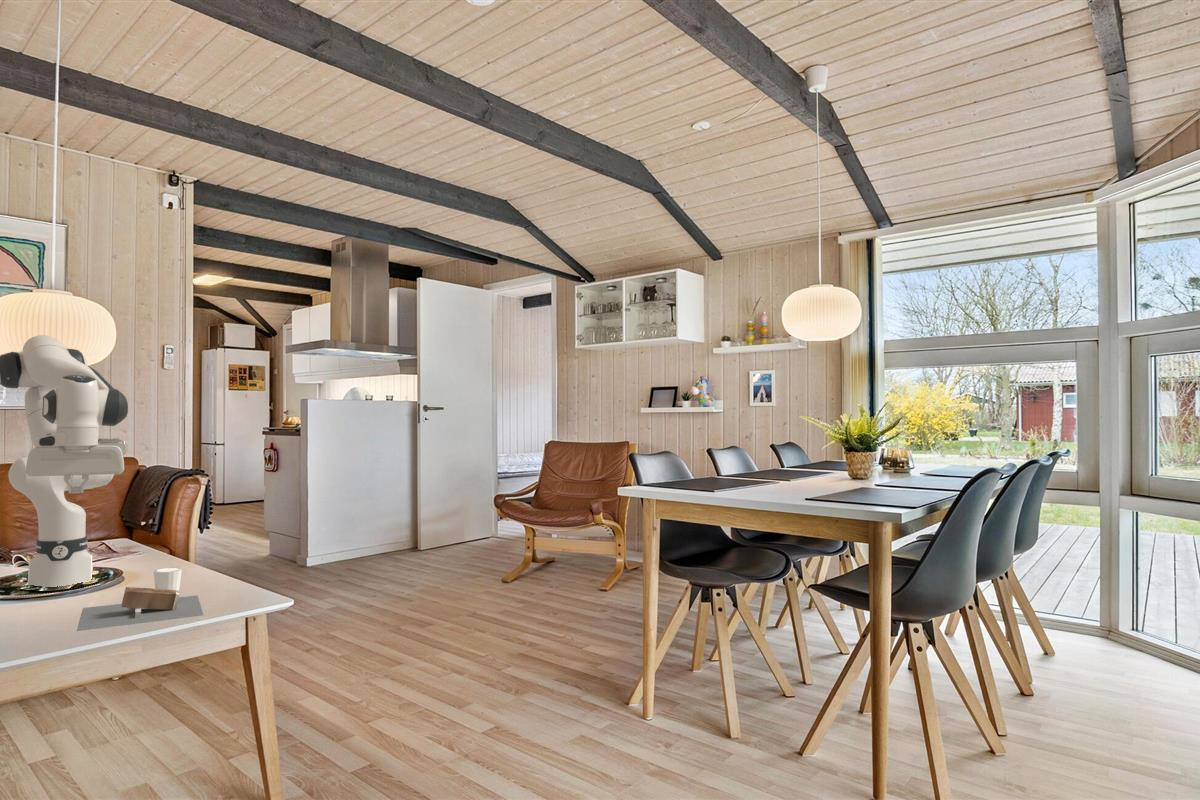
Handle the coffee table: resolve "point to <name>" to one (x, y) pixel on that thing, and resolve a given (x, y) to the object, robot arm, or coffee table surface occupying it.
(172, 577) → the white cup
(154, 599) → the walnut block
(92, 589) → the coffee table surface
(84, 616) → the slate mat
